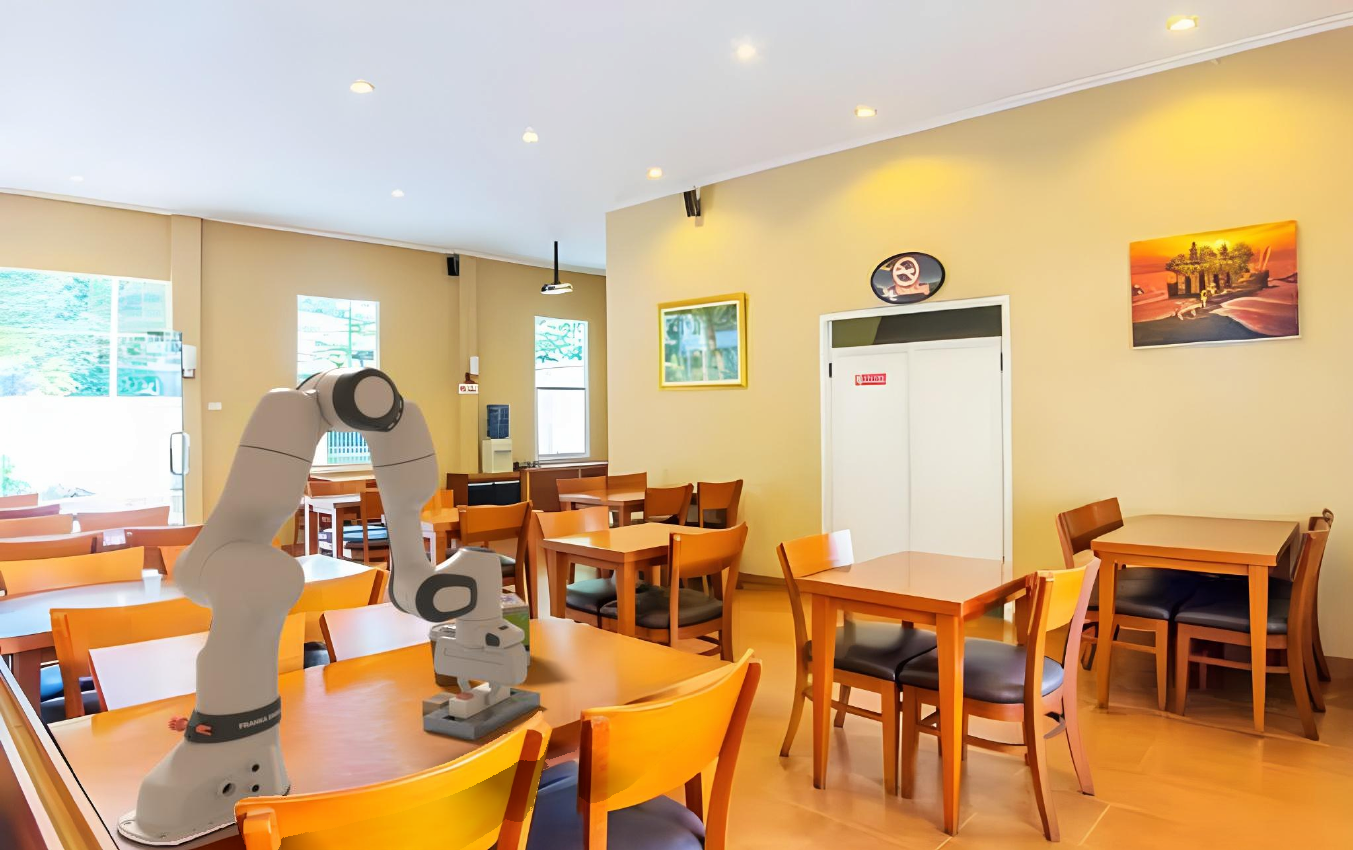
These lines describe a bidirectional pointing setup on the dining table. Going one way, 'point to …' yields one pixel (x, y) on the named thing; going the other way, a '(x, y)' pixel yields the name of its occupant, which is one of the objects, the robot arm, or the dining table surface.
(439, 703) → the tan rectangular block
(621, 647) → the dining table surface
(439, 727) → the keyhole plate
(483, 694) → the white key block
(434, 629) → the disposable coffee cup
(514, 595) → the tea box
